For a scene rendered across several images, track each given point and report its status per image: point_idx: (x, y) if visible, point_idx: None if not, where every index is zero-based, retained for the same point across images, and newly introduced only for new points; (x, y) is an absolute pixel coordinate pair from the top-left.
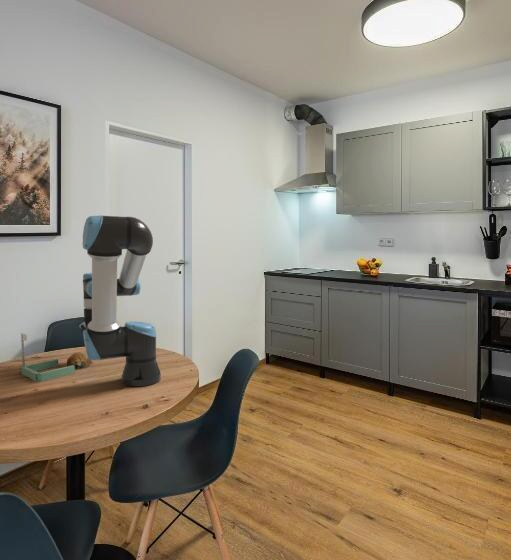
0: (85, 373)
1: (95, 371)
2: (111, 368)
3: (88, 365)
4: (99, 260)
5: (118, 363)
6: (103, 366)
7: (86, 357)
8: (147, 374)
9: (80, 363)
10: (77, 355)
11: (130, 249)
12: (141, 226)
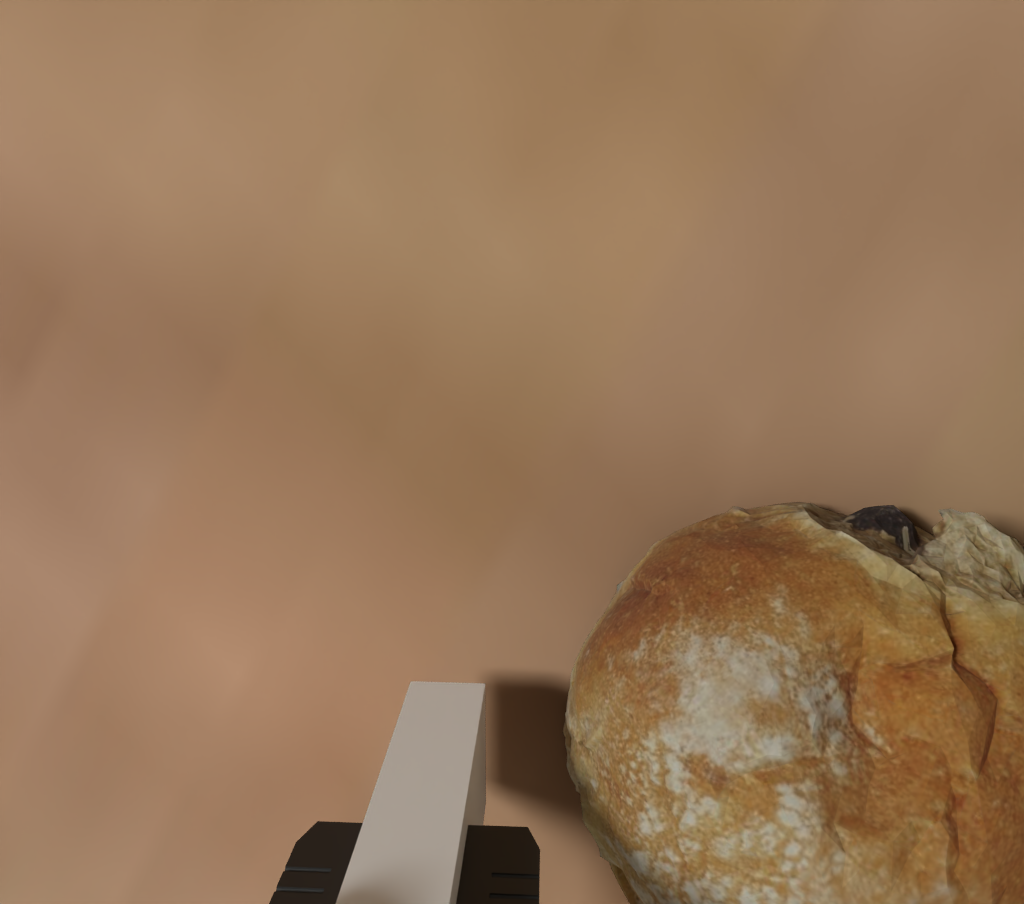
0: (1017, 135)
1: (791, 100)
2: (425, 27)
3: (712, 520)
4: None
5: (129, 262)
6: (471, 310)
7: (773, 639)
8: None
9: (945, 545)
10: (1001, 791)
11: None
12: None
